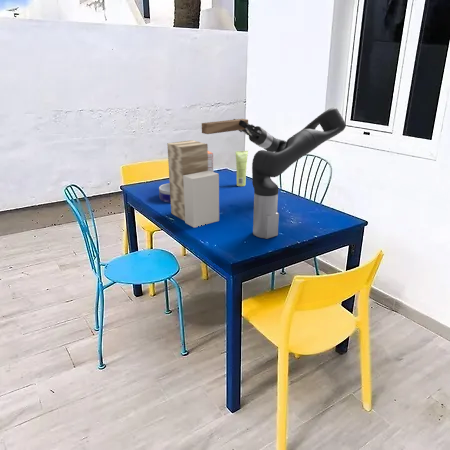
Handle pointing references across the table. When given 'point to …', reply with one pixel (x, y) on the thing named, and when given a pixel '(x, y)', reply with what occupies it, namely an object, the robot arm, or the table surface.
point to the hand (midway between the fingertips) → (236, 121)
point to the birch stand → (184, 169)
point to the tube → (241, 167)
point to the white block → (201, 198)
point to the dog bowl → (165, 192)
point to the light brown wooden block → (222, 126)
